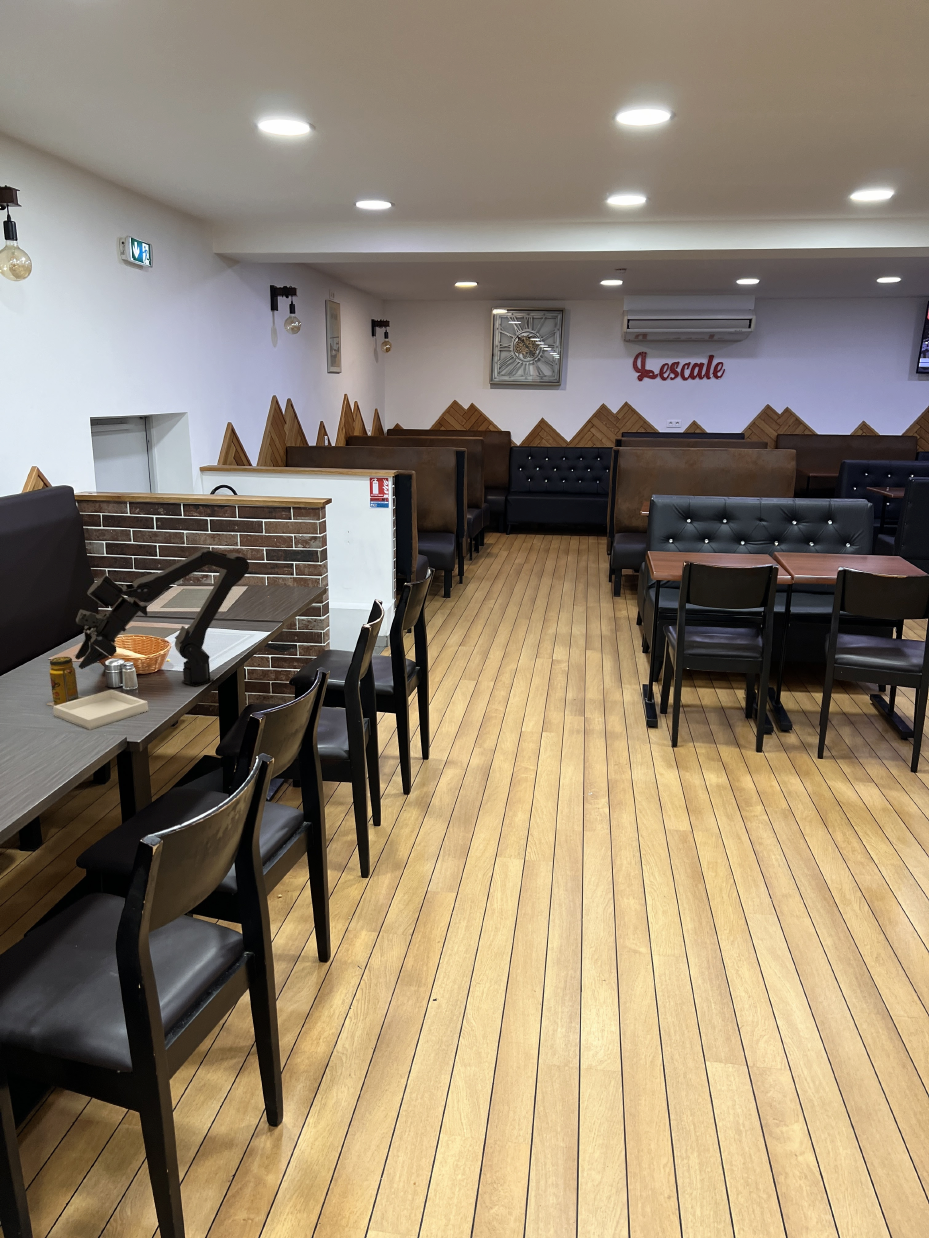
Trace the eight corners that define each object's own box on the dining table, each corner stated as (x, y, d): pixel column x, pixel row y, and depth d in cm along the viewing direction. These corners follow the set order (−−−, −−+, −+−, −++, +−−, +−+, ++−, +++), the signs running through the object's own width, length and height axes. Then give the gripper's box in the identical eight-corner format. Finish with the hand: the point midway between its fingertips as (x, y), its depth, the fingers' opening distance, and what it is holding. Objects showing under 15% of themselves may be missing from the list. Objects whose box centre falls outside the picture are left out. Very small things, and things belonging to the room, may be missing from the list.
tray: (112, 698, 226) (111, 689, 226) (148, 710, 217) (147, 701, 216) (54, 715, 214) (53, 706, 213) (89, 729, 204) (88, 720, 204)
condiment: (46, 704, 222) (40, 660, 219) (72, 694, 229) (67, 652, 226) (66, 708, 219) (60, 664, 216) (92, 698, 226) (87, 655, 223)
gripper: (89, 592, 229) (49, 636, 227) (98, 606, 213) (54, 654, 211) (123, 617, 235) (84, 660, 232) (134, 632, 219) (92, 679, 217)
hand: (78, 663), depth 223 cm, fingers open, 9 cm apart
